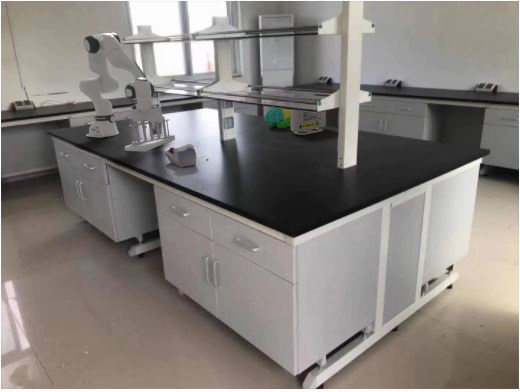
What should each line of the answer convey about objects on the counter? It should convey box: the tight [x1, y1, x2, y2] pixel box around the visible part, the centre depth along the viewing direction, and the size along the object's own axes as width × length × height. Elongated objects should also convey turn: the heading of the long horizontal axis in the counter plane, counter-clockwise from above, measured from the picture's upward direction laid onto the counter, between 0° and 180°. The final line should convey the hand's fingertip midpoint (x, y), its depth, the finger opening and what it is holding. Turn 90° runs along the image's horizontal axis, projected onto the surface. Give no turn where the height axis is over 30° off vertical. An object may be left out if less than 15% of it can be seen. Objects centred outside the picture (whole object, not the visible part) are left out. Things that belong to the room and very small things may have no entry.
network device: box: [290, 110, 327, 136], centre depth 270 cm, size 26×9×20 cm, turn 122°
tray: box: [124, 133, 176, 153], centre depth 263 cm, size 14×33×2 cm, turn 160°
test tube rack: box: [128, 115, 172, 144], centre depth 261 cm, size 25×4×13 cm, turn 128°
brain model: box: [264, 107, 291, 129], centre depth 291 cm, size 24×19×15 cm
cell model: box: [164, 143, 197, 168], centre depth 216 cm, size 13×11×20 cm
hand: (149, 128), depth 260 cm, fingers open, 4 cm apart
